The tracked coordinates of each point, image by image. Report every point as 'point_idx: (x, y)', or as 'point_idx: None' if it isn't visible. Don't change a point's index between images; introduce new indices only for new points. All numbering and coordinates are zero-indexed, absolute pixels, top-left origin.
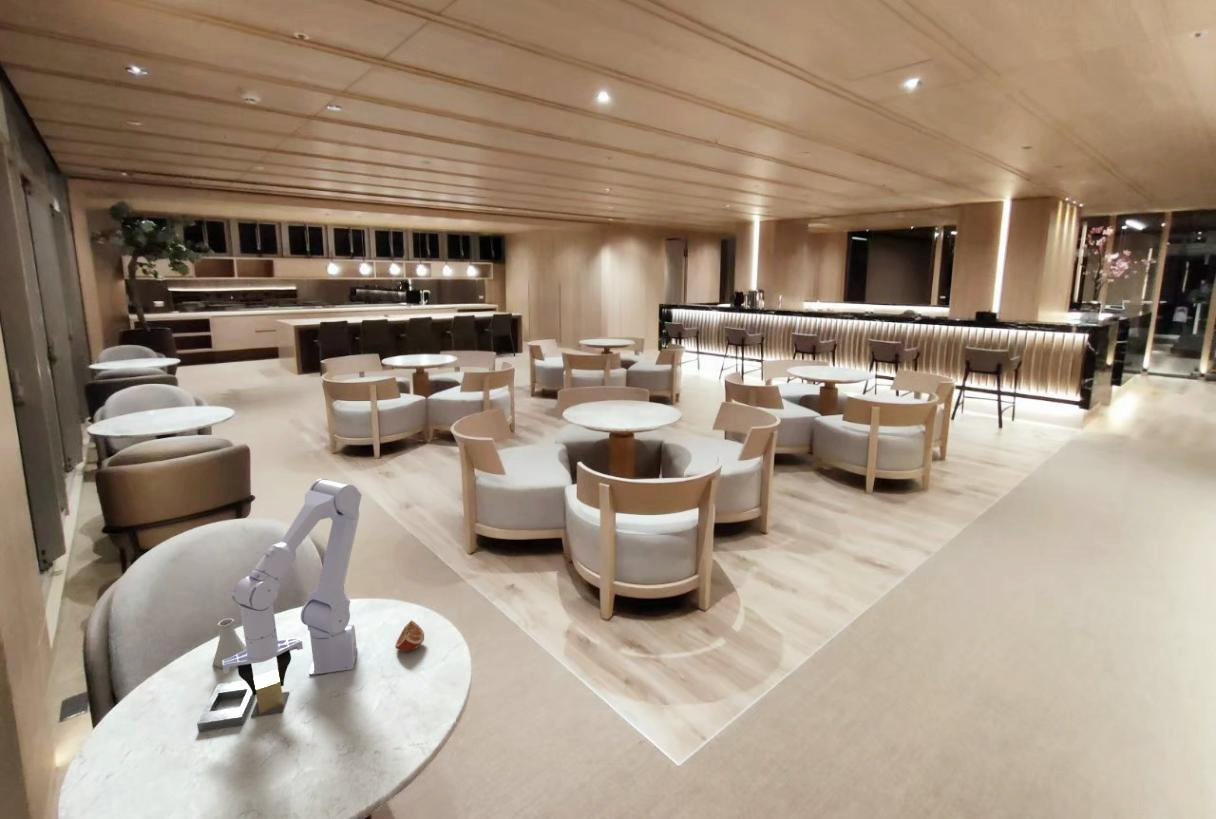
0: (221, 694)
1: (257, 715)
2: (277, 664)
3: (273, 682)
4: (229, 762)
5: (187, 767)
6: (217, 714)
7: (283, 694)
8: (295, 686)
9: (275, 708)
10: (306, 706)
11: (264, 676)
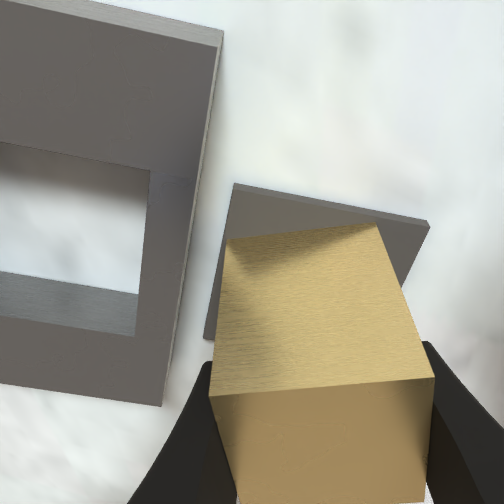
0: None
1: None
2: (467, 471)
3: (372, 494)
4: None
5: (7, 475)
6: (12, 348)
7: (391, 242)
8: (481, 163)
9: None
10: (482, 360)
11: (307, 419)
